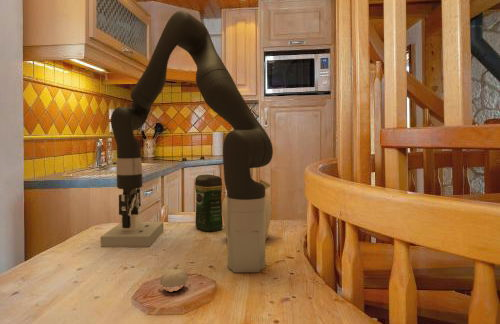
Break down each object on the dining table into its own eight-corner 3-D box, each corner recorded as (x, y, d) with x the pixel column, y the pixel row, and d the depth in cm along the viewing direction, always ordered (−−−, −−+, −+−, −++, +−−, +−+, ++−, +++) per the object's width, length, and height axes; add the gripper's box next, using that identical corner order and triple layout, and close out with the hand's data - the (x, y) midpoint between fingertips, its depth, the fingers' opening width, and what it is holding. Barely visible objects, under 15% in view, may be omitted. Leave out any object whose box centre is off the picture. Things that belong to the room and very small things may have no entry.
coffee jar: (226, 229, 132) (226, 175, 130) (206, 233, 127) (205, 176, 125) (211, 224, 139) (211, 172, 138) (192, 227, 135) (191, 174, 133)
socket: (149, 246, 112) (149, 234, 112) (101, 246, 112) (100, 234, 112) (163, 230, 130) (163, 220, 130) (121, 231, 130) (121, 220, 130)
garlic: (176, 282, 85) (176, 259, 85) (193, 288, 82) (193, 264, 81) (154, 291, 81) (153, 266, 80) (171, 298, 77) (170, 272, 77)
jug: (272, 232, 127) (272, 156, 125) (270, 246, 112) (270, 159, 110) (226, 231, 129) (225, 156, 127) (218, 245, 113) (217, 159, 111)
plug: (136, 238, 119) (135, 217, 118) (121, 238, 119) (121, 217, 118) (140, 234, 123) (139, 214, 123) (126, 234, 123) (125, 214, 123)
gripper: (134, 175, 112) (136, 230, 114) (147, 170, 127) (148, 219, 128) (108, 175, 112) (110, 230, 114) (124, 170, 127) (126, 219, 128)
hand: (130, 224), depth 121 cm, fingers open, 8 cm apart
